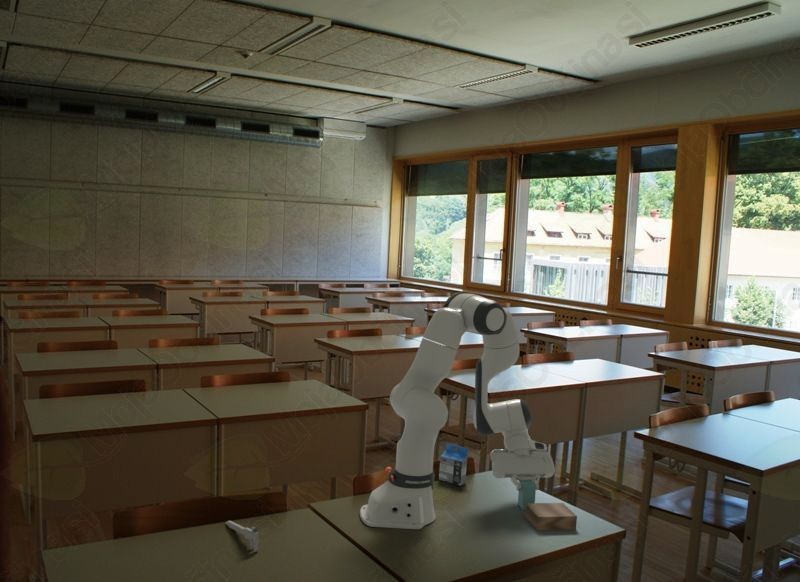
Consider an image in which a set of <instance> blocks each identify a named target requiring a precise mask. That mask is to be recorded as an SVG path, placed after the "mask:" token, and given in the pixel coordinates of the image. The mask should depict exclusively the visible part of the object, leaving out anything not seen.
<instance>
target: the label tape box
mask: <svg viewBox="0 0 800 582" xmlns="http://www.w3.org/2000/svg"><path fill="white" fill-rule="evenodd" d="M456 449H457V450H456ZM443 460H446V461H443ZM467 462H468V448H466V447H463V446H459V445H455V444H451V443H448V442H447V443H445V450H444V452H443V453H442V454H441V455H440V460H439V469H438V470H439V472H438V480H439V481H443V482H446V481H447V483H450V484H453V485H457V486H464V485H465V484H466V483H467V482H466V481H467V467H468V465H467V464H468V463H467Z"/></svg>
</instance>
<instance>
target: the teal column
mask: <svg viewBox="0 0 800 582" xmlns="http://www.w3.org/2000/svg"><path fill="white" fill-rule="evenodd" d="M518 482H519V483H522V487H523V489H522V490H518V493H517V495H518V497H517V506H518V505H519V506H520V507H521V508H520V507H519V506H518V507H519V508H520V509H521V510H525V509H526V504H530V503H536V491H537V490H536V484H535V482H534V480H532V479H522V480H521V479H519V480H518Z"/></svg>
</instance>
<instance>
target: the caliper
mask: <svg viewBox="0 0 800 582" xmlns="http://www.w3.org/2000/svg"><path fill="white" fill-rule="evenodd" d="M225 525H226V526H227V527H228V529H229V528H230V529H232V530H234V531H235V532H237V533H240V534H241V535H243V536H244V540H245V539H246V540H249V545H250V550H251V551H253V553H257V552H259V541H260V540H259V532H258V528H257V527H256V526H252V527H251V528H249V527H245V526H242V525H241V524H238V523H236V522H235V521H233V520H227V521H225Z"/></svg>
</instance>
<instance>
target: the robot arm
mask: <svg viewBox="0 0 800 582" xmlns="http://www.w3.org/2000/svg"><path fill="white" fill-rule="evenodd" d="M466 332H471V333H472V332H473V333H476V334H480V335H482V343H483V353H482V355H481V357H480V358H479V359H478V360H477V361H476V365H475V374H474V376H475V377H474V410H473V416H472V417H473V419H472V420H473V425H474V428H475V431H477V432H478V433H479V434H481V435H482V436H485V437H488V436H491V435H495V434H499V433H501V434H502V436H503V445H504V449H503V448H502V449H501V448H500V449H497V448H495V449H493V450H491V451H490V452H489V458H490V461H491V468H492V469H491V470H492V471H491V472H492V475H493V477H495V479H510V481H511V482H512V484H513V485H514V486H515V489H516V491H519V490H522V489H523V487H522V483H519V480H518V479H517V478H520V479H523V478H526V479H527V478H528V479H531V478H533V481H535V482H534V483H535V484H536V491H538V490H539V488H540V486H539V481H540V478H552V477H553V475H554V474H555V472H556V468H555V464H554V461H553V457H552V455H551V454H550V453H549V452H548V447H547V444H546V443H542V442H539V441H536V440H533V439H531V436H530V435H529V432H528V430H529V429H530V427H531V425H532V423H533V419H532V416H531V412H530V406H529V404H528V403H527V402H526V401H525V400H523V399H521V398H519V399H518V398H515V399H510V400H509V399H508V400H505V401H499V402H492V403H491V402H490V403H488V399H489V398H488V396H489V395H488V394H489V393H488V391H489V389H488V388H489V384H490V382H491V380H492V379H494V378H496V377H497V376H498V375H500V374H501V373H503V372H505V371H508V369H510V368H511V367H513V366H514V365H515V364H516V362H517V361H518V359H519V357H520V341H519V336H518V335H519V334H518V331H517V326H516V323H515V320H514V317H513V314H512V313H511V311H510V310H509V309H507V308H505V307H503V306H502V305H501V304H500V303H499V302H497V301H496V300H493V299H489V298H486V297H484V296H482V295H480V294H474V293H467V292H464V291H463V292H455V293H453V294H451V295H450V296H449V297H448V298H447V299H446V301H445V302H444V305H443V306H442V307H440V308H438V309H436V311H435V312H434V313H433V315H432V317H431V318H430V320H429V322H428V324H427V326H426V329H425V331H424V333H423V336H422V339H421V341H420V343H419V347H418V350H417V352H416V354H415V357H414V360H413V361H412V364H411V366H410V368H409V369H408V370H407V372H406V374H405V375H404V377H403V378H402V380H401V381H400V382H399V383H398V384H396V385H395V386H394V387H393V388H392V390H391V392H390V394H389V403H390V405H391V407H392V409H393V410H394V413H395V414H397V416H399V417H400V418H402V419H403V420H404V424H405V425H404V429H403V433H402V436H401V438H400V439H399V440H398V441H397V444H396V458H395V467H394V468H393V469H392V467H391V466H386V468H385V470H384V471H385V474H386V475H387V476H388V477H387V479H388V480H386V481H385V482H383V484H381V485H380V486H378V487H376V488H374V489H373V490H372V491H371V493H370V495H369V498H368V502H367V504H364V505H362V506H361V508H360V510H359V516H360V519H361V521H362V522H363V523H364V524H365V525H366V526H368V527H372V528H373V527H374V528H387V529H389V528H392V529H406V530H408V529H409V530H421V529H422V528H423V527H424V526H426V525H429V524H431V523H433V522H434V521H435V520H436V517H437V516H436V513H435V508H434V507H435V506H434V501H433V500H434V497H433V489H434V485H435V470H434V456H435V455H434V454H435V445H436V441H437V438H438V435H439V432H440V430H441V429H443V427H444V426H445V425H446V423H447V421H448V418H449V410H448V406H447V405H446V403H445V402H444V401H443V399H442V398H441V397H440V396H439V395H437V394H435V391H436V389H437V387H438V386H439V385H440V383H441V382H442V381H443V380H444V379H446V378H447V377H448V376H449V375H450V372H451V370H452V367H453V364H454V362H455V358H456V355H457V352H458V350H459V348H460V345H461V341H462V337H463V336H464V334H465V333H466Z"/></svg>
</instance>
